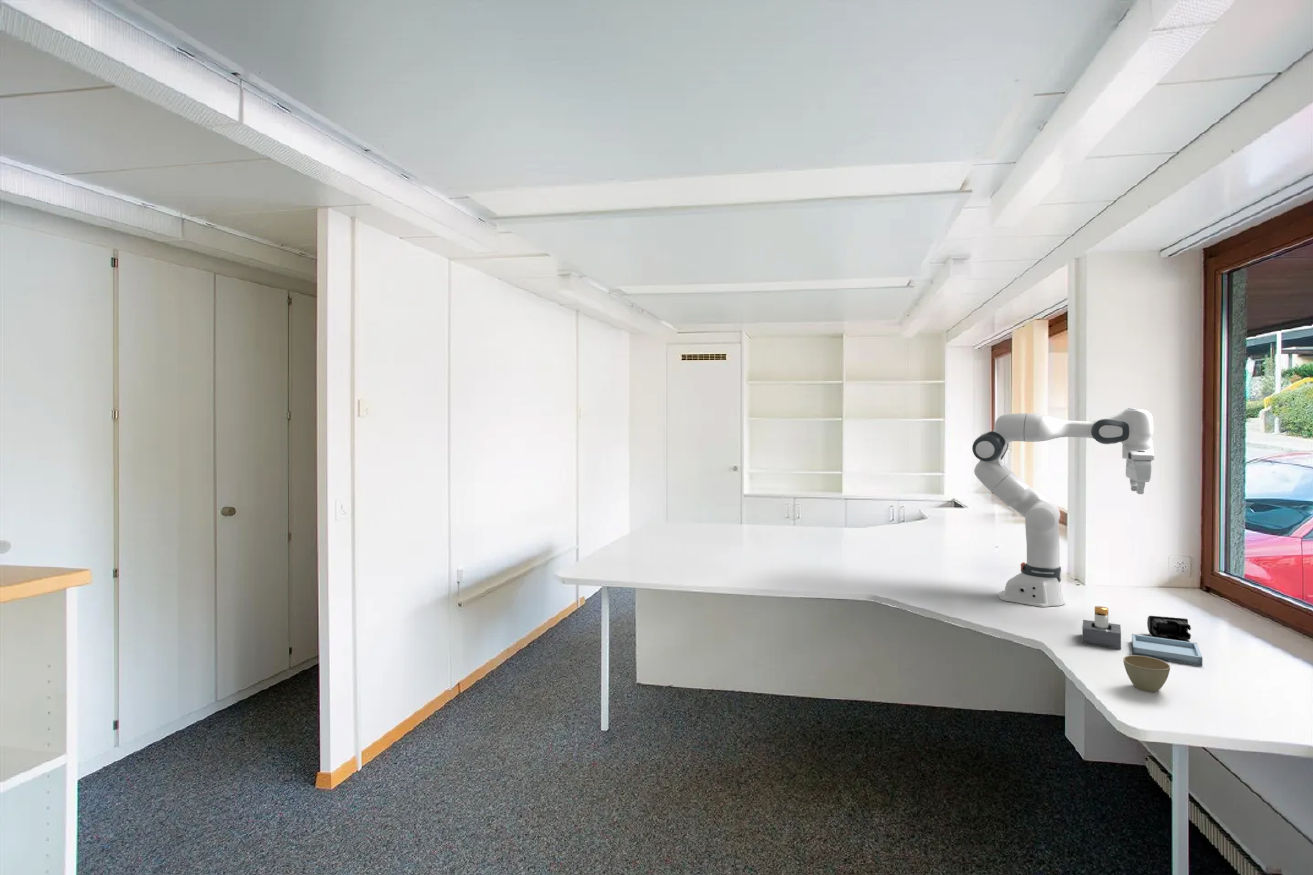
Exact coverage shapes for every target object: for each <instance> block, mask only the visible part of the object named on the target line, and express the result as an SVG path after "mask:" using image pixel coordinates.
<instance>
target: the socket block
mask: <svg viewBox="0 0 1313 875" xmlns="http://www.w3.org/2000/svg"><path fill="white" fill-rule="evenodd" d="M1081 629H1082V631H1081V632H1082V635H1081V637H1082V640H1081V641H1082V644H1083V645H1090V646H1096V647H1097V646H1098V647H1102V648H1110V649H1116V650H1121V649H1122V631H1121V630H1122V629H1121V624H1118V623H1111V622H1108V629H1100V628H1095V620H1088V619H1082V628H1081Z"/></svg>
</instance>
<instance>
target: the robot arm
mask: <svg viewBox="0 0 1313 875" xmlns="http://www.w3.org/2000/svg"><path fill="white" fill-rule="evenodd" d="M1153 436H1154V419H1153V415H1152V413H1150V412H1149V411H1148V410H1146V409H1139V408H1132V407H1129V408H1125V409H1124V410H1123V411H1121V412H1119V413H1116V414H1113V415H1111V416H1108V417H1104V418H1101V419H1098V420H1093V421H1092V420H1091V421H1087V420H1085V421H1083V420H1064V419H1060V418H1057V417H1053V416H1048V415H1044V414H1038V413H1021V412H1019V413H1007V414H1002V415H1000V416H999V417H998V418H996V420H995V423H994V429H993V430H992V431H988V432H984V433H983V434H981V435H980V436H979V437H977V438H975V440H974V442H972V443H973V444H972V447H971V448H972V453H973V455H974V457H976V459H977V460H979V461H978V462H977V464H975V467H974V471H973V472H974V475H975V477H976V478H977V480H979V481H980V483H981V484H982V485H983V486H984V487H985V488H987V490H989V491H990V492H991V493H992V494H994V496H996V497H997V499H999V500H1000V501H1001V502H1003V503H1004V504H1005V505H1006V506H1008V507H1009V508H1011V509H1013V510H1014V511H1015V512H1017V513H1018V514H1020V515H1022V516H1023V517H1024V520H1025V523H1024V526H1025V527H1024V528H1025V538H1026V540H1025V541H1026V562H1024V561H1023V562H1021V563H1020V573H1018V574H1016V575H1015V576H1013V577H1011V578H1009V579H1008V580H1007V582H1006V583H1005V587H1004V590H1002V591H1000V592H999V593H998V599H1000V600H1001V601H1007V602H1010V603H1011V602H1012V603H1017V604H1022V605H1024V604H1025V605H1027V606H1028V605H1029V606H1035V607H1038V608H1039V607H1040V608H1045V607H1046V608H1047V607H1058V606H1063V605H1065V604H1066V602H1065V599H1064V596H1063V593H1062V586H1061V585H1062V584H1061V580H1062V567H1061V564H1060V563H1061V562H1060V560H1061V559H1060V556H1061V555H1060V554H1061V553H1060V550H1061V549H1060V548H1061V546H1060V528H1059V524H1060V518H1061V512H1060V509H1059V507H1058V506H1057V505H1056V504H1055V503H1053V502H1052V501H1051V500H1049V499H1048V498H1047V497H1045V495H1043V494H1042V493H1040V492H1038V491H1037V490H1035V489H1034V488H1032V487H1031V486H1030V485H1029V484H1028V483H1026V482H1025V481H1024V480H1023V479H1021V478H1020V477H1019V476H1018V475H1016V474H1015V473H1014V472H1013V471H1012V470H1010V469H1009V468H1008V467H1007V466H1006V465H1004V463H1003V462H1002V460H1003V458H1004V456H1005V455H1006V453H1007V451H1008V448H1009V443H1011V442H1028V443H1031V442H1032V443H1033V442H1034V443H1035V442H1045V441H1051V440H1054V439H1059V438H1085V439H1086V438H1088V439H1094V440H1095V441H1096V442H1097V443H1100V444H1103V445H1112V444H1118V443H1121V445H1122V446H1121V447H1122V450H1121V451H1122V452H1121V453H1122V459H1126V462H1125V477H1126V478H1128V479H1129V484H1130V491H1132V492H1136V494H1138V495H1144V493H1145V487H1146V483H1149V482H1150V481H1151V477H1152V470H1153V469H1152V467H1153V462H1152V461H1155V453H1154V443H1153Z"/></svg>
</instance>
